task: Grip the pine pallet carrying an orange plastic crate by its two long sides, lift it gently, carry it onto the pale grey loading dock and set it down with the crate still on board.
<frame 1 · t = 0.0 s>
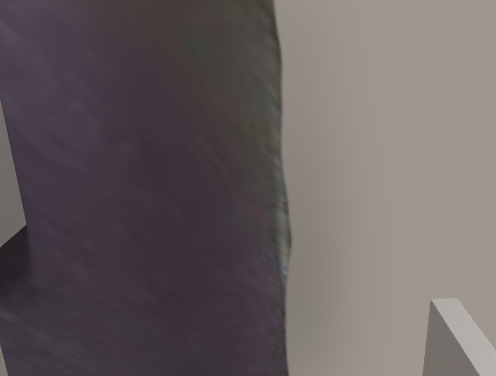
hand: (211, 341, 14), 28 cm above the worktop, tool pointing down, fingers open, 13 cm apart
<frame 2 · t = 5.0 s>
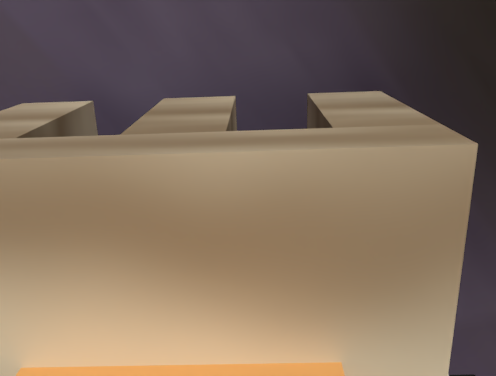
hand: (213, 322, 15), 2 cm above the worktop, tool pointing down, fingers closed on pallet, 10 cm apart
pallet: (214, 311, 15), point 1 cm above the worktop, touching crate, gripper
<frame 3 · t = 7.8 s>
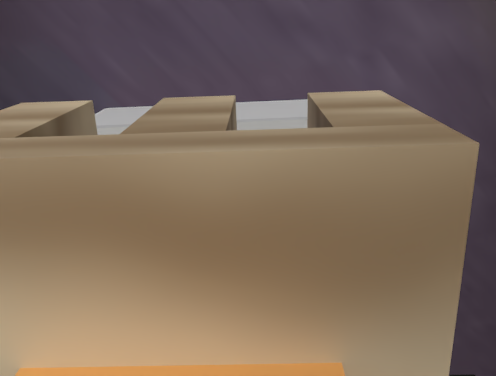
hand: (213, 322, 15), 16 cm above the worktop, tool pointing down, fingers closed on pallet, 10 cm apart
pallet: (214, 311, 15), point 16 cm above the worktop, touching crate, gripper
dock: (240, 221, 31), on the worktop
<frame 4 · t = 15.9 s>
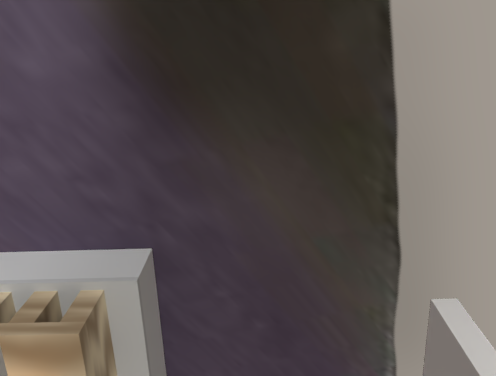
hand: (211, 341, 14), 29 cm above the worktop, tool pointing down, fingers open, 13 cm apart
pallet: (59, 358, 42), point 6 cm above the worktop, touching crate, dock
dock: (82, 320, 48), on the worktop
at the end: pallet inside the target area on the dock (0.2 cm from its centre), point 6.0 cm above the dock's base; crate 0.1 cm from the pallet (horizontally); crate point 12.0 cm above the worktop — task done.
